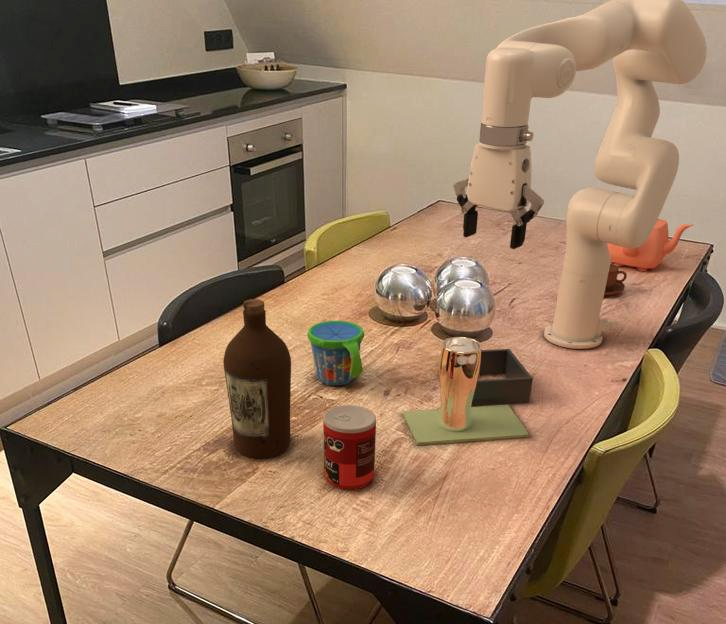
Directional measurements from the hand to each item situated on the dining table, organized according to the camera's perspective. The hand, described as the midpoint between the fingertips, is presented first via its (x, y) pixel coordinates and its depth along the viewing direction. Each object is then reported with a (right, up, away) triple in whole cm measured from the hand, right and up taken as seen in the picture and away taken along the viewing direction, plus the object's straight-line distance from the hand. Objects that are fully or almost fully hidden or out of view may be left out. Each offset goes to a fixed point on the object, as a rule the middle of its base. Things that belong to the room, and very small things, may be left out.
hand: (492, 241), depth 133 cm
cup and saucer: (+38, +7, +62) cm, 73 cm away
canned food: (-25, -42, -12) cm, 50 cm away
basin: (+1, -24, +15) cm, 28 cm away
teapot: (+54, +19, +80) cm, 98 cm away
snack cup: (-28, -22, +17) cm, 39 cm away
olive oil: (-40, -36, -4) cm, 54 cm away
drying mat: (-5, -32, +2) cm, 33 cm away
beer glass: (-6, -32, +2) cm, 33 cm away
